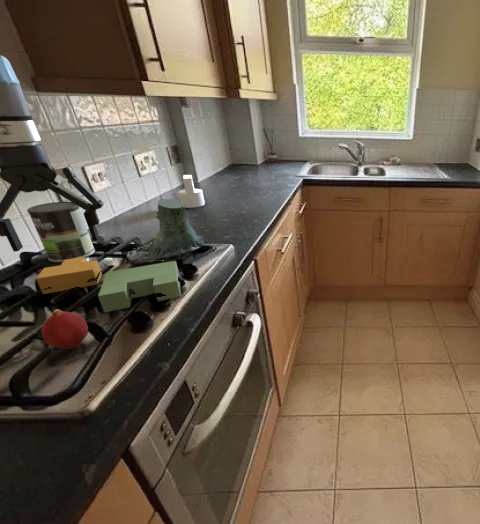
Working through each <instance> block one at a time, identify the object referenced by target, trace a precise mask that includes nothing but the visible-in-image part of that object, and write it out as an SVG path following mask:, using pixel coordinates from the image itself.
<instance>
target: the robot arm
mask: <svg viewBox="0 0 480 524" xmlns="http://www.w3.org/2000/svg"><path fill="white" fill-rule="evenodd" d="M24 95H25V94H24V92H23V89H22V86H21V82H20V80H19V79H18V76H17V75H16V73H15V70H14V69H13V67H12V64H11V62H10V61H9V60H8V59H7V58H6V57H5V56H3V55H1V54H0V179H1V180H2V181H4V182H6V183H8V184H9V185H10V186H9V187H8V188H7V190H6V192H5V194H4V195H3V197H2V199H1V200H0V238H1V237H6V239H7V241H8V243H9V245H10V247H11V249H12V251H13V252H14V253H16V252H19V251H21V249H22V248H24V246H23V244H22V241H21V239H20V238H19V235H18V233H17V231H16V229H15V227H14V225H13V223H12V221H11V219H10V218H5V216H6V214H7V213H8V211H9V209H10V208H11V206H13V204H14V202H15V200H16V198H17V197H18V195H19V194H20V193H21V192H24V193H32V192H46V191H51V192H53V193H56V194H57V195H59V196H60V197H63V198H64V199H66V200H68V202H73V203H74V204H76V205H78V206H79V208H80V209H83V210H84V212H83V213H82V215H83V218H84V221H85V223H86V226H87V229H88V231H89V234H90V237H91V238H92V242H93V241H94V242H96V241H99V238H100V234H99V232H98V229H97V226H99V224H100V219H99V216H98V213H97V210H99V209H102V208H103V206H104V204H105V203H104V202H103V201H102V199H101V198H100V197H99V196H97V194H95V193H94V192H93V191H92V190H91V189H90V188H89V187H88V185H86V184H85V183H84V182H83V181H82V180H81V179H80V178H79V177H78V176H77V175H76V173H75V170H74V169H73V167H72V166H70V165H67V166H65V167H60V168H54V167H53V165H52V164H51V161H50V159H49V156H48V154H47V150H46V148H45V146H44V145H42V144H41V143H39V142H41V141H42V138H41V136H40V133H39V131H38V128H37V126H36V123H35V121H34V118H33V117H32V115H31V112H30V110H29V106H28V104H27V101H26V98H25V96H24ZM58 175H59V176H60V177H61V178H62V179H66V180H67V181H68V182H69V183H70V185H71V186H73V187H74V188H75V189H76V190H77V191H78V192H79V193H80V194H81V195H82V196H83V197H84V198H83V197H82V196H79V195H78V194H77V193H75V192H73V191H72V190H70V189H68V188H67V187H65V186H64V185H63V184H62V183H60V182H58V181H57V180H56V178H57V176H58Z"/></svg>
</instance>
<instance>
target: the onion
mask: <svg viewBox="0 0 480 524" xmlns="http://www.w3.org/2000/svg"><path fill="white" fill-rule="evenodd" d="M88 332H89V326H88V323H87V321H86V320H85V319H84V317H83V316H81V315H79V314H77V313H74V312H71V311H63V310H61V309H54V310H53V311H52V313H51V315H50V316H49V317H48V318H46V320H45V321H44V323H43V325H42V327H41V336H42V339H43V342H45V343H46V345H48V346H50V347H52V348H55V349H66V350H75V349H76V348H77V347H78V346H79V345H80V344H81V343H82V342H83V341H84V340H85V338H86V337H87V335H88Z"/></svg>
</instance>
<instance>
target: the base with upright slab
mask: <svg viewBox="0 0 480 524" xmlns="http://www.w3.org/2000/svg"><path fill="white" fill-rule="evenodd" d="M182 181H183V185H184V189H181V190H179V191H177V192H178V196H179V202H181V203H182V204H183V206H184V208H185V209H194V208H200V207H203V206H205V205H206V202H205V198H204V193H203V189H201V188H195V186H194V180H193V176H192V174H183V176H182Z"/></svg>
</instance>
